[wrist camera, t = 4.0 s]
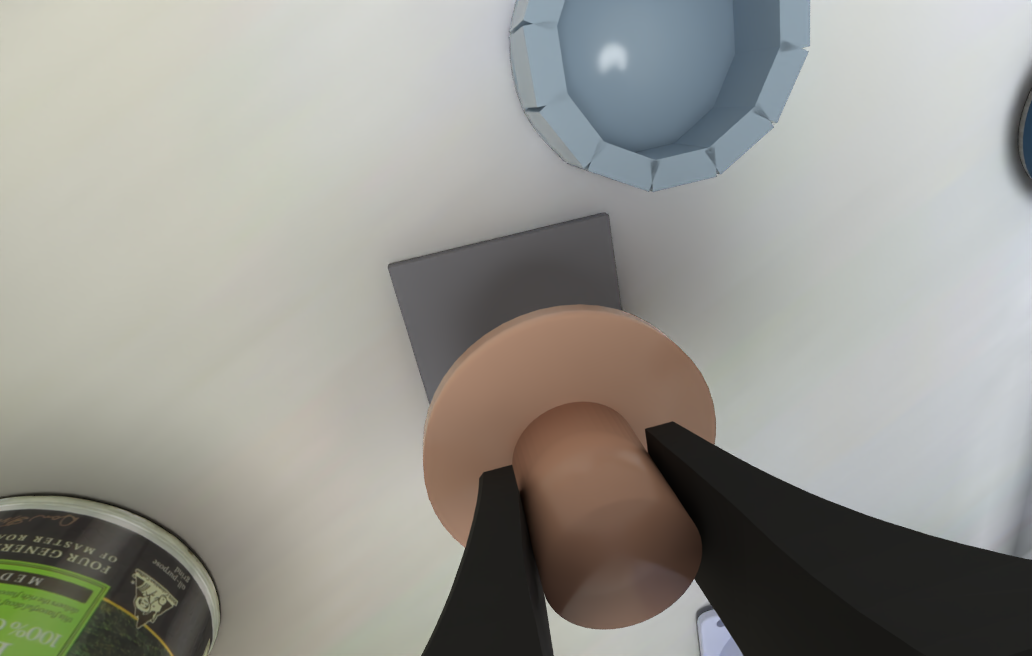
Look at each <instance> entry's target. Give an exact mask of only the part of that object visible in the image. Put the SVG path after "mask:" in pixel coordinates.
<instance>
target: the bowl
mask: <svg viewBox="0 0 1032 656" xmlns="http://www.w3.org/2000/svg"><path fill="white" fill-rule="evenodd" d="M509 32H510V37H509V41H510V62H511V70H512V76H513V80H514V84H515V88H516V92H517V95H518V97H519V100H520V103H521V105H522V108H523V110H524V113H525V114H526V115H527V117H528V119H529V121H530V123H531V124H532V126H533V127H534V129H535V130H536V131H537V133H538V134H539V136H540V137H541V138H542V139H543V140H544V141H545V142H546V143H547V144H548V145H549V146H550V147H551V148H552V149H553V150H554V151H555V152H557V153H558V155H559V156H560V157H561V158H562V159H563V161H565V162H567V164H570V165H573V166H576V167H579V168H582V169H584V170H587V171H590V172H593V173H596V174H599V175H602V176H605V177H608V178H610V179H613V180H616V181H619V182H622V183H625V184H628V185H631V186H634V187H637V188H640V189H643V190H645V191H648V192H649V191H652V192H655V191H659V190H663V189H667V188H671V187H675V186H680V185H684V184H688V183H692V182H696V181H701V180H705V179H709V178H713V177H717V175H716V174H722V173H723V172H724V171H725V170H726V169H727V168H729V167H730V166H731V165H732V164H733V163H734V162H735V161H736V160H738V159H739V158H740V157H741V156H742V155H743V154H744V153H745V152H747V151H748V150H749V149H750V148H751V147H752V146H753V145H754V144H756V143H757V142H758V141H759V140H760V139H761V138H762V137H763V136H765V135H766V134H767V133H768V132H769V131H770V130H771V129H772V128H774V126H773V125H772V123H777V122H778V120H779V117H780V115H781V113H782V111H783V108H784V106H785V104H786V102H787V99H788V97H789V95H790V93H791V90H792V88H793V86H794V84H795V81H796V79H797V77H798V74H799V72H800V70H801V68H802V65H803V63H804V61H805V59H806V56H807V54H808V52H809V51H806V50H804V49H802V48H804V47H808V46H810V0H516V2H515V6H514V11H513V15H512V20H511V28H510V31H509Z"/></svg>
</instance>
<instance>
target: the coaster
mask: <svg viewBox="0 0 1032 656" xmlns="http://www.w3.org/2000/svg"><path fill="white" fill-rule="evenodd" d="M388 270H389V273H390V276H391V280H392V283H393V286H394V289H395V293H396V296H397V299H398V303H399V306H400V309H401V312H402V316H403V319H404V322H405V325H406V329H407V332H408V335H409V339H410V342H411V345H412V348H413V352H414V355H415V358H416V361H417V365H418V368H419V371H420V375H421V378H422V381H423V384H424V388H425V391H426V394H427V398H428V401H429V404H431V401H432V399H433V396H434V393H435V392H436V390H437V388H438V386H439V384H440V383H441V381H442V379H443V377H444V376H445V374H446V373H447V372H448V370H449V369H450V368H451V366H452V365H453V364H454V362H455V361H456V360H457V359H458V358H459V357H460V356H461V355H462V354H463V353H464V352H465V351H466V350H467V349H468V348H469V347H470V346H471V345H472V344H474V343H475V342H476V341H477V340H479V339H480V338H481V337H482V336H484V335H485V334H487V333H488V332H490V331H492V330H493V329H495V328H496V327H498V326H500V325H501V324H503V323H505V322H508V321H510V320H512V319H514V318H516V317H519V316H521V315H524V314H527V313H530V312H533V311H536V310H540V309H544V308H550V307H555V306H560V305H577V304H583V305H598V306H604V307H609V308H614V309H618V310H621V311H622V308H621V301H620V294H619V286H618V279H617V272H616V265H615V257H614V250H613V243H612V236H611V229H610V221H609V215H608V214H606V213H601V214H597V215H593V216H588V217H584V218H580V219H576V220H572V221H568V222H563V223H559V224H555V225H551V226H547V227H543V228H538V229H534V230H530V231H526V232H522V233H518V234H514V235H509V236H505V237H501V238H497V239H493V240H489V241H484V242H480V243H476V244H472V245H468V246H464V247H460V248H455V249H451V250H447V251H443V252H439V253H435V254H430V255H426V256H422V257H418V258H414V259H410V260H405V261H401V262H397V263H393V264H389V265H388Z"/></svg>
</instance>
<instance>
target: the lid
mask: <svg viewBox="0 0 1032 656" xmlns="http://www.w3.org/2000/svg"><path fill="white" fill-rule="evenodd" d="M672 421H673V422H675V423H677V424H679V425H680V426H682V427H684V428H686V429H687V430H689V431H691V432H693V433H694V434H696V435H698V436H700V437H701V438H703V439H705V440H707V441H708V442H710V443H712V444H715V437H716V418H715V411H714V404H713V401H712V397H711V394H710V391H709V388H708V386H707V384H706V382H705V380H704V378H703V376H702V374H701V372H700V371H699V370H698V368H697V367H696V365H695V364H694V363H693V361H692V360H691V359H690V358H689V357H688V356H687V355H686V354H685V353H684V352H683V351H682V350H681V349H680V348H679V347H678V346H677V345H676V344H675V343H674V342H673V341H672V340H671V339H670V338H668V337H667V336H666V335H665V334H664V333H663V332H661V331H660V330H659V329H657V328H656V327H655V326H653V325H652V324H650V323H649V322H647V321H645V320H643V319H641V318H639V317H637V316H635V315H633V314H630V313H627V312H624V311H621V310H618V309H614V308H609V307H604V306H598V305H583V304H577V305H560V306H555V307H550V308H544V309H540V310H536V311H533V312H530V313H527V314H524V315H521V316H519V317H516V318H514V319H512V320H510V321H508V322H505V323H503V324H501V325H500V326H498V327H496V328H495V329H493V330H492V331H490V332H488V333H487V334H485V335H484V336H482V337H481V338H480V339H479V340H477V341H476V342H475V343H474V344H472V345H471V346H470V347H469V348H468V349H467V350H466V351H465V352H464V353H463V354H462V355H461V356H460V357H459V358H458V359H457V360H456V361H455V362H454V364H453V365H452V366H451V368H450V369H449V370H448V372H447V373H446V374H445V376H444V377H443V379H442V381H441V383H440V384H439V386H438V388H437V390H436V392H435V393H434V396H433V399H432V401H431V404H430V406H429V409H428V413H427V417H426V421H425V426H424V437H423V467H424V479H425V485H426V489H427V493H428V497H429V500H430V502H431V504H432V507H433V509H434V511H435V513H436V515H437V516H438V518H439V520H440V521H441V523H442V524H443V526H444V527H445V528H446V529H447V531H448V532H449V533H450V534H451V535H452V536H453V538H454V539H456V540H457V541H458V542H459V543H460V544H461V545H463V546H464V547H466V543H467V540H468V536H469V532H470V529H471V525H472V521H473V517H474V512H475V507H476V502H477V496H478V488H479V478H480V476H481V475H482V473H483V472H486V471H490V470H494V469H497V468H501V467H505V466H508V465H512V466H513V470H514V474H515V478H516V481H517V485H518V489H519V493H520V497H521V501H522V505H523V509H524V513H525V517H526V521H527V525H528V530H529V535H530V540H531V545H532V548H533V552H534V556H535V560H536V564H537V568H538V572H539V576H540V580H541V584H542V587H543V591H544V594H545V597H546V599H547V601H548V603H549V604H550V606H551V607H552V608H553V610H554V611H555V612H556V613H557V614H559V615H560V616H561V617H562V618H564V619H566V620H567V621H569V622H571V623H573V624H576V625H579V626H582V627H586V628H592V629H616V628H623V627H627V626H631V625H635V624H638V623H641V622H643V621H646V620H648V619H650V618H652V617H654V616H656V615H658V614H659V613H661V612H663V611H664V610H665V609H667V608H668V607H670V606H671V605H672V604H673V603H674V602H676V601H677V600H678V599H679V598H680V597H681V596H682V595H683V594H684V593H685V591H686V590H687V589H688V587H689V586H690V585H691V583H692V581H693V580H694V578H695V576H696V574H697V572H698V569H699V566H700V563H701V558H702V541H701V536H700V534H699V531H698V529H697V527H696V525H695V524H694V522H693V520H692V519H691V517H690V516H689V514H688V513H687V511H686V510H685V508H684V507H683V505H682V504H681V502H680V501H679V499H678V498H677V496H676V495H675V493H674V492H673V490H672V489H671V487H670V486H669V484H668V483H667V481H666V480H665V478H664V477H663V475H662V473H661V472H660V470H659V469H658V467H657V466H656V464H655V463H654V461H653V460H652V458H651V457H650V455H649V454H648V449H647V441H646V434H645V429H646V428H650V427H653V426H657V425H661V424H664V423H668V422H672Z"/></svg>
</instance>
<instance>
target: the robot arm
mask: <svg viewBox="0 0 1032 656" xmlns="http://www.w3.org/2000/svg"><path fill="white" fill-rule="evenodd" d="M645 434H646V441H647V449H648V454H649V455H650V457H651V458H652V460H653V461H654V463H655V464H656V466H657V467H658V469H659V470H660V472H661V473H662V475H663V477H664V478H665V480H666V481H667V483H668V484H669V486H670V487H671V489H672V490H673V492H674V493H675V495H676V496H677V498H678V499H679V501H680V502H681V504H682V505H683V507H684V508H685V510H686V511H687V513H688V514H689V516H690V517H691V519H692V520H693V522H694V524H695V525H696V527H697V529H698V531H699V534H700V536H701V541H702V558H701V563H700V566H699V569H698V572H697V574H696V576H695V578H694V579H695V580H696V582H697V584H698V585H699V587H700V588H701V590H702V591H703V593H704V594H705V596H706V598H707V599H708V601H709V602H710V604H711V605H712V607H713V608H714V609H713V610H709V611H706V612H704V613H702V614H701V615H700V616H699V618H698V621H697V625H698V634H699V643H700V653H701V656H1032V560H1029V559H1024V558H1019V557H1014V556H1010V555H1006V554H1002V553H997V552H993V551H989V550H985V549H981V548H977V547H972V546H968V545H964V544H960V543H957V542H953V541H949V540H945V539H942V538H938V537H934V536H931V535H927V534H924V533H921V532H918V531H914V530H911V529H908V528H905V527H901V526H898V525H895V524H892V523H888V522H885V521H882V520H879V519H876V518H873V517H871V516H868V515H865V514H862V513H859V512H857V511H854V510H851V509H849V508H846V507H844V506H841V505H838V504H836V503H833V502H831V501H828V500H825V499H823V498H820V497H818V496H816V495H813V494H811V493H809V492H806V491H804V490H802V489H800V488H798V487H795V486H793V485H791V484H789V483H787V482H785V481H782V480H780V479H778V478H776V477H774V476H772V475H770V474H768V473H766V472H764V471H762V470H760V469H758V468H756V467H754V466H752V465H750V464H748V463H746V462H744V461H743V460H741V459H739V458H737V457H735V456H733V455H731V454H730V453H728V452H726V451H724V450H722V449H721V448H719V447H717V446H715V445H714V444H712V443H710V442H708V441H707V440H705V439H703V438H701V437H700V436H698V435H696V434H694V433H693V432H691V431H689V430H687V429H686V428H684V427H682V426H680V425H679V424H677V423H675V422H673V421H672V422H668V423H664V424H661V425H657V426H653V427H650V428H646V429H645ZM421 656H554V655H553V648H552V642H551V635H550V629H549V622H548V616H547V609H546V603H545V597H544V591H543V587H542V584H541V580H540V576H539V572H538V568H537V564H536V560H535V556H534V552H533V548H532V545H531V540H530V535H529V530H528V525H527V521H526V517H525V513H524V509H523V505H522V501H521V497H520V493H519V489H518V485H517V481H516V478H515V474H514V470H513V466H512V465H508V466H505V467H501V468H497V469H494V470H490V471H486V472H483V473H482V475H481V476H480V478H479V488H478V496H477V502H476V507H475V512H474V517H473V521H472V525H471V529H470V532H469V536H468V540H467V543H466V547H465V550H464V554H463V557H462V560H461V563H460V566H459V568H458V571H457V574H456V577H455V580H454V583H453V586H452V589H451V591H450V594H449V596H448V599H447V601H446V604H445V606H444V608H443V611H442V613H441V615H440V618H439V620H438V622H437V624H436V627H435V629H434V631H433V633H432V635H431V637H430V639H429V641H428V643H427V645H426V647H425V649H424V651H423V653H422V655H421Z"/></svg>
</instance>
